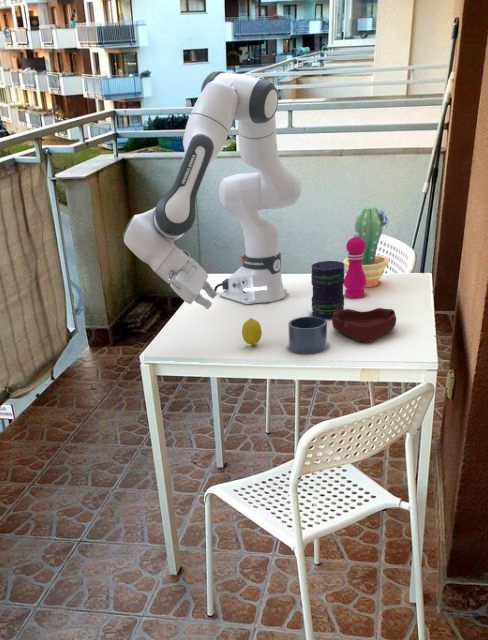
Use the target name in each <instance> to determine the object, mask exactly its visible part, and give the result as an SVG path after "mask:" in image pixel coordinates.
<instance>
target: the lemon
mask: <svg viewBox="0 0 488 640" xmlns="http://www.w3.org/2000/svg"><path fill="white" fill-rule="evenodd" d="M262 335H263V331H262V326H261V324H260V322H259V321H258V320H256V319H253V318H249V319H247V320H246V321H245V322H244V323H243V325H242V328H241V336H242V339H243V341H244V342H245V343H246V344H248V345H250V346H251V347H254V346H255V345H256V344H258V343H259V342H260V341H261V339H262Z"/></svg>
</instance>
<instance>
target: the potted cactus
mask: <svg viewBox="0 0 488 640" xmlns="http://www.w3.org/2000/svg"><path fill="white" fill-rule="evenodd" d="M388 225H389V218H388V216H387V214H386V213H385V211H384V210H382V209H378V207H376V206H372V205H370V206H363V208H362V209H361V210H360V211H359V213H358V214H357V216H356V218H355V219H354V233H356V232H357V233H358V234H359V238H362V239H363V240H364V241H365V249H364V251H363V253H364V255H363V256H364V257H363V258H362V268H363V271H364V274H365V277H366V285H365V286H364V287H363V288H373V287H375V286H376V287H377V286H378V285H379V280H380V278H381V277H382V276H383V274H384V272H385V269H386V267H388V264H389V260H390V258H389V257H387V256H385V255H380V254H376V253H377V248H378V244H379V241H380V238H381V236H382V234H383V228H384V227H385V230H387V229H388ZM342 263H344V268H346V272H347V271H348V268H349V259H348V257H346V258H344V259H343V261H342Z"/></svg>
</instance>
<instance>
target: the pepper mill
mask: <svg viewBox="0 0 488 640" xmlns="http://www.w3.org/2000/svg"><path fill="white" fill-rule="evenodd" d="M352 236H353V237H351V238H349V240H347V242H346V244H345V245H346V247H345V248H346V251H347V252H348V253H347V258H348V259H349V268H348V271H347V270H346V273H345V277H344V280H345V281H344V284H343V287H345V290H344V297H346V298H348V299H360V298H363V297H364V296H365V289H364V288H365V287H364V286H365V285H366V277H365V274H364V271H363V268H362V258H363V257H364V256H363V255H364V253H363V251H364V249H365V241H364V240H363V239H362V238H359V234H358V233H357V232H356V233H355V232H354V233H353V234H352Z"/></svg>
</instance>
